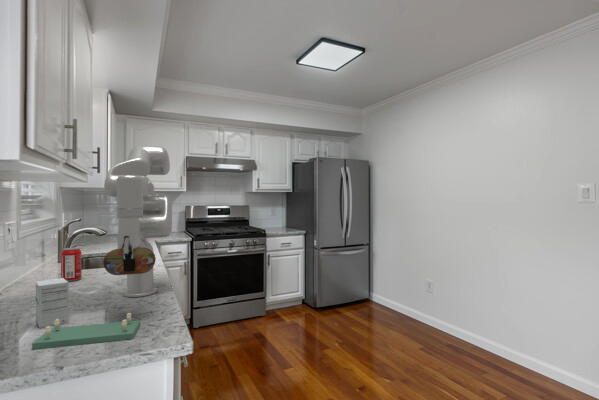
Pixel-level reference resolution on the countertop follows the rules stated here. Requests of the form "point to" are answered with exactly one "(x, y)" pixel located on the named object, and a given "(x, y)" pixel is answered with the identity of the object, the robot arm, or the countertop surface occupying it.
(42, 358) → the countertop surface
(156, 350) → the countertop surface
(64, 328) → the green peg board
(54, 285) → the supplement box
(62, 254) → the soda can
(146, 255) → the tin
